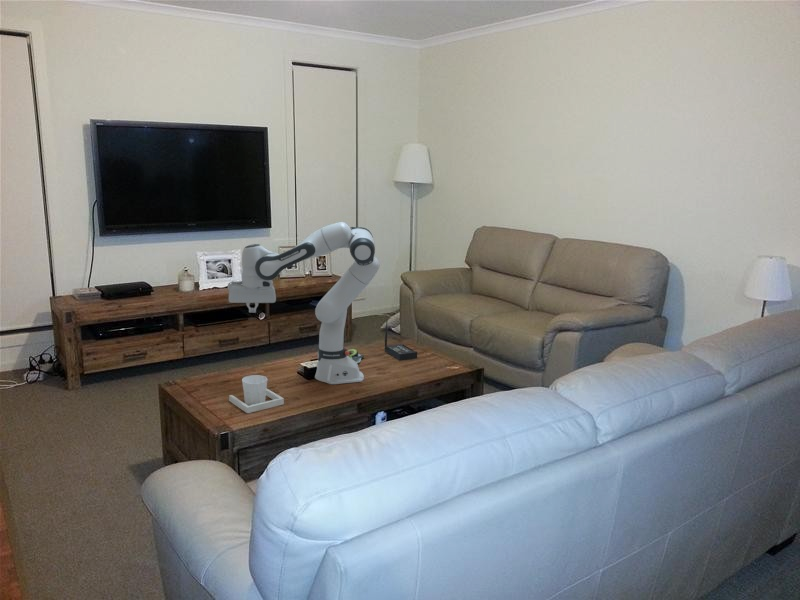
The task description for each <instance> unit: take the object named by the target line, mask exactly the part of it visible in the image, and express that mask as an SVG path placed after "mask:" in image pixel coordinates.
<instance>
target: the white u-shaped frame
mask: <svg viewBox="0 0 800 600" xmlns="http://www.w3.org/2000/svg"><path fill="white" fill-rule="evenodd" d="M228 396H229V397H228V400H229V402H230V403H232V405H235V406H236V407H238V408H239V409H240V410H242V411H243V412H245V413H246V414H250V413H251V414H252V413H255V412H259V411H263V410H266V409H271V408H275V407H279V406H281V405H284V404H285V398H284V397H282V396H281V395H279V394H277V393H275V392H274V391H272V390H271V389H269V388H266V397H268V398H270V399H271V400H265V402H262V403H258V404H254V405H247V404H245V401H244V402H243V401H242V400H241V399H240V398H238V397H236V396H234V395H233V394H230V395H228Z"/></svg>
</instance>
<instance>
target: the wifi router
mask: <svg viewBox="0 0 800 600" xmlns="http://www.w3.org/2000/svg"><path fill="white" fill-rule="evenodd" d="M385 321H386V323H385V324H386V325H385V333H384V352H385V353H386V354H388V355H390V356H392V357H393V358H394V359H396V360H397V361H407V360H415V359H418V351H415V350H414V349H412V348H410V347H408V346H407V345H405V344H403V343H393V344H388V319H386V320H385Z"/></svg>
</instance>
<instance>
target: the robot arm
mask: <svg viewBox="0 0 800 600" xmlns="http://www.w3.org/2000/svg"><path fill="white" fill-rule="evenodd" d="M343 248H347V249H349V252H350V255H351V257H352V259H353V260H354V261H353V263H352V264H351V266H349V268H348V269H347V270H346V271H345V272H344V274H343V275H342V276H341V277H340V278H339V279H338V280H337V282H336V283H334V285H333V286H332V287H331V288H330V289H329V290H328V291H327V292H326V293H325V295H323V296H322V298H321V299H320V300H319V302H317V304H316V307H315V309H314V314H315V317H316V318H317V320H318V321H320V322H321V324H320V328H319V333H318V334H319V336H318V340H319V341H318V348H317V367H316V372H315V375H314V379H315V380H317V381H319V382H321V383H322V382H323V383H327V384H328V385H339V384H350V383H351V384H352V383H360V382H361V383H362V382H363V381H364V380H365V376H364V373H363V372H362V371H360V368H359V364H357V363H356V362H355V361H354V360H353V359H351V358H350V357H349V351H348V350H349V349H347V348H346V347H344V342H345V341H344V340H345V339H344V338H345V337H344V336H345V328H346V327H345V326H346V320H347V316H348V315H347V313H348V308H349V306H351V304H352V303H353V302H354V301H355V300H356V299H357V298H358V297H359V295H361V293H362V292H363V291H364V290H365V289H366V287H367V286H368V285H369V284H370V283H371V282H372V280H373V279H374V277H375V276H376V274H377V273H378V271H379V269H380V261H379V260H378V258H377V256H376V255H375V253H376V245H375V239H374V236H373V234H372V232H371V231H370V230H369V229H368V228H366V227H361V226H360V227H359V226H358V227H356V226H355V227H354V226H351V227H350V226H349V225H348V224H347V223H346V222H344V221H339V222H336V223H335V222H334V223H331V224H328V225H326V226H323V227H321V228H319V229H317V230H315V231H313V232H312V233H311V234H309V235H307V236H306V237H305V238H304V239H303V240H302V241H301V242H300V243H298V244H297V245H296V246H294V247H292V248H290V249H288V250H286V251H284V252H281V253H278V252H275V251H271V250H269V249H266V248H265V247H264V246H263V245H262V244H260V243H259V244H258V243H253V244H249V245H246V246H245V247H243V249H242V254H241V266H242V272H241V280H240V281H237V280H236V281H233V280H232V281H230V282H228V284H227V290H228V302H229V303H230V304H233V303H234V304H236V303H237V304H244V303H245V304H246V307H247V308H248V313H253V314H254V313H255V314H256V313H257V308H258V307H259V304H260V303H261V304H266V303H267V304H268V303H269V304H274V303H276V301H277V297H276V296H277V295H276V288H275V286H274V281H273V280H274V279H276V278H277V277H278V275H280V274H281V272H282V271H284V270H286V269H287V268H290V267H291V266H294V265H296V264H298V263H300V262H302V261H305V260H310V259H313V258H317V257H318V258H319V257H322V256H324V255H328V254H329V253H332V252H334V251H337V250H338V249H343ZM251 303H252V304H253V303H254V307H251V306H250V304H251Z"/></svg>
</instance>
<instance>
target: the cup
mask: <svg viewBox="0 0 800 600" xmlns="http://www.w3.org/2000/svg"><path fill="white" fill-rule="evenodd" d="M241 381H242V389H243V400H244V403H245V404H247V405H248V406H250V405H254V404H258V403H262V402H266V398H267V396H266V388H267V386H268V377H266V376H265V375H259V374H251V375H246V376H243V378H242V379H241ZM267 389H268V388H267Z"/></svg>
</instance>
